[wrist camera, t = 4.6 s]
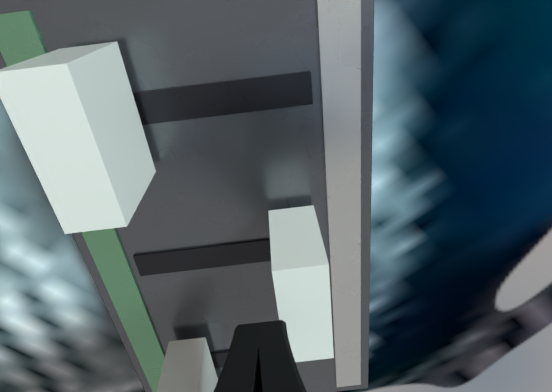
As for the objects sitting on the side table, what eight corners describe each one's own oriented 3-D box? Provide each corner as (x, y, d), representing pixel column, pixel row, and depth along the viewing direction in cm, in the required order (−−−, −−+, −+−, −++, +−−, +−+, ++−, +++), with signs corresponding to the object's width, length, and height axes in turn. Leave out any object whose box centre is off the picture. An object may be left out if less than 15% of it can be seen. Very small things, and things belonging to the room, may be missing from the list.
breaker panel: (361, -52, 11) (376, -57, 10) (361, 362, 21) (368, 389, 19) (-4, -5, 11) (-40, -3, 10) (161, 384, 21) (154, 413, 19)
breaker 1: (117, 41, 10) (66, 63, 8) (155, 171, 12) (127, 226, 10) (60, 48, 10) (-12, 73, 8) (107, 177, 12) (64, 234, 10)
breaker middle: (313, 205, 13) (328, 264, 11) (319, 289, 15) (333, 358, 13) (268, 210, 13) (271, 271, 11) (280, 293, 15) (285, 363, 13)
